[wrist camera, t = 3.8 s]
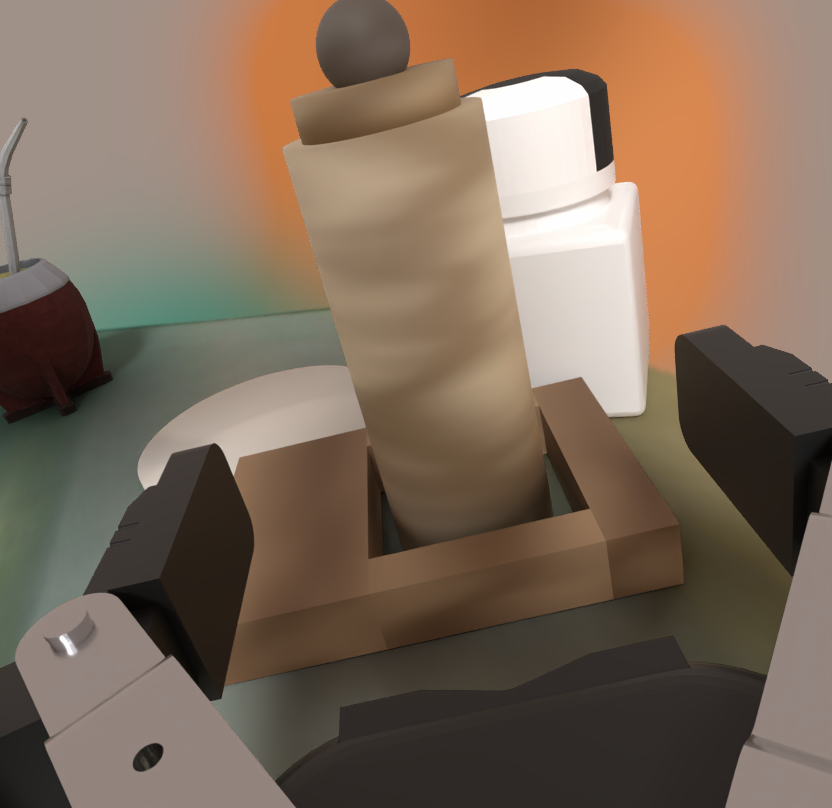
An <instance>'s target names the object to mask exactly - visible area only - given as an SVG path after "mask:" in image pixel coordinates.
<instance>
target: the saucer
mask: <svg viewBox="0 0 832 808" xmlns="http://www.w3.org/2000/svg"><path fill="white" fill-rule="evenodd" d="M362 428H366V426H365V422H364V419H363V416H362V412H361V409H360V406H359V403H358V399H357V396H356V393H355V389H354V386H353V383H352V379H351V376H350V373H349V369H348V367H347V366H335V365H323V366H309V367H301V368H295V369H289V370H284V371H280V372H275V373H271V374H268V375H264V376H261V377H257V378H254V379H251V380H248V381H245V382H243V383H240V384H237V385H235V386H232V387H230V388H228V389H225V390H223V391H221V392H219V393H216V394H214V395H212V396H210V397H208V398H206V399H205V400H203V401H201V402H199V403H197V404H195V405H194V406H192V407H191V408H189V409H187V410H186V411H184V412H183V413H181V414H180V415H178V416H177V417H176V418H174V419H173V420H172V421H170V422H169V423H168V424H167V425H166V426H164V427H163V428H162V429H161V430H160V431H159V432H158V433H157V434H156V435H155V436H154V437H153V438H152V439H151V441H150V442H149V443H148V444H147V446H146V447H145V449H144V450H143V452H142V454H141V457H140V459H139V462H138V467H137V470H138V477H139V479H140V481H141V483H142V486H143V488H144V490H146V489H147V488H148V487H150V486H154V485H157V483H158V481H159V479H160V477H161V475H162V473H163V470H164V468H165V466H166V464H167V462H168V460H169V458H170V456H171V454H172V453H175V452H179V451H183V450H187V449H192V448H196V447H200V446H204V445H209V444H213V443H215V444H217V445H219V446H220V448H221V449H222V451H223V453H224V455H225V457H226V459H227V462H228V464H229V466H230V469H231V471H232V474H233V476H234V474H235V470H236V467H237V464H238V460H239V457H244V456H248V455H252V454H256V453H261V452H265V451H269V450H273V449H278V448H282V447H286V446H290V445H294V444H299V443H303V442H307V441H311V440H316V439H320V438H324V437H328V436H333V435H337V434H341V433H345V432H349V431H354V430H358V429H362Z"/></svg>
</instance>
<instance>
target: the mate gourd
mask: <svg viewBox="0 0 832 808" xmlns="http://www.w3.org/2000/svg"><path fill="white" fill-rule="evenodd" d="M27 123H28V121H27V119H26V118H21V120H20V121H19V123H18V124H17V126H16V127H15V129H14V131H13V132H12V134H11V136H10V137H9V139H8V141H7V142H6V144H5V145H4V147H3V148H2V150H1V154H0V212H1V219H2V225H3V231H4V238H5V244H6V251H7V257H8V264H6V265H2V266H0V405H1V406H2V407H3V408H4V409H5V410H6V411H7V412H6V413H4V414H3V417H4V418H5V419H6V420H7V421H8V423H12V422H15V421H17V420H19V419H22V418H24V417H27V416H29V415H31V414H34V413H36V412H38V411H41V410H43V409H46V408H48V407H50V406H54V405H56V406H57V407H58V409H59V411H60V412H61V414H62V415H63V416H66V415H68V414H71V413H73V412H75V411H76V407H75V405H74V403H73V401H72V400H71V398H72V397H74V396H76V395H79V394H81V393H83V392H86V391H88V390H90V389H93V388H95V387H97V386H100V385H102V384H105V383H107V382H109V381H111V380H112V377H111V372H110V371H105V372H104V369H103V363H102V356H101V349H100V344H99V338H98V335H97V332H96V329H95V327H94V324H93V321H92V319H91V316H90V314H89V311H88V308H87V305H86V303H85V301H84V299H83V298H82V296H81V294H80V292H79V291H78V289H77V288H76V287H75V286H74V285H73V283H72V282H71V281H70V279H69V277H68V276H67V275H66V274H65V273H64V272H62V271H61V270H60V269H59V268H57V267H56V266H54V265H53V264H51V263H50V262H48V261H46V260H45V259H43V258H31V259H26V260H21V261H19V256H18V249H17V242H16V235H15V228H14V221H13V214H12V208H11V201H10V195H9V194H11V193H12V190H11V176H10V175H8V169H9V165H10V161H11V158H12V155H13V152H14V150H15V148H16V146H17V144H18V142H19V140H20V137H21V135H22V133H23V131H24V129H25V127H26V125H27Z"/></svg>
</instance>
